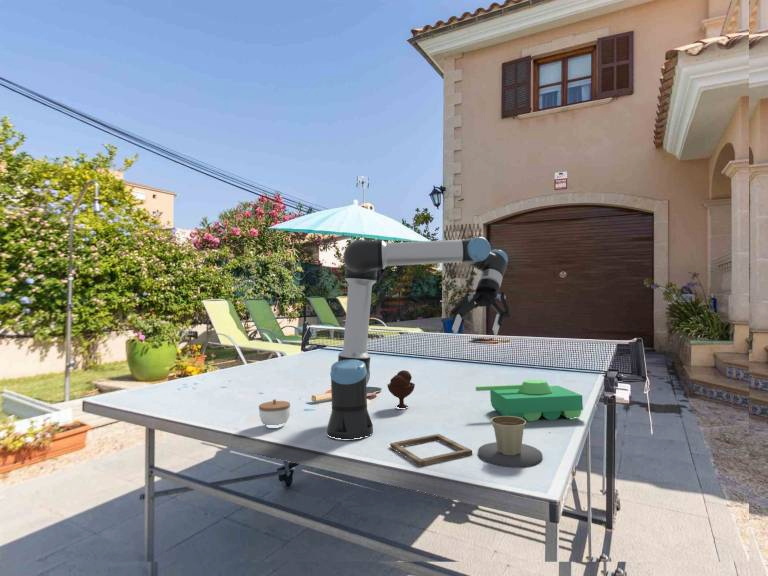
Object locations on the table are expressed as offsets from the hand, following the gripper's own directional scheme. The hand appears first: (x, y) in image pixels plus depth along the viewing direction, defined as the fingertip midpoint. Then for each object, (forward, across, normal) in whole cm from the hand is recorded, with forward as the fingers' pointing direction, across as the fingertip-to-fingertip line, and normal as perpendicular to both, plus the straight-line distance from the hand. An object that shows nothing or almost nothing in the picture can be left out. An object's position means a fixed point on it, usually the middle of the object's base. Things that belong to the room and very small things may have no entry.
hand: (473, 332), depth 137 cm
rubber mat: (+31, -14, -15) cm, 37 cm away
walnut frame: (+37, +7, -10) cm, 38 cm away
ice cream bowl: (+10, +39, -36) cm, 54 cm away
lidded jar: (+40, +66, -6) cm, 78 cm away
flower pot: (+31, -14, -15) cm, 37 cm away
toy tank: (+2, -6, -45) cm, 45 cm away
